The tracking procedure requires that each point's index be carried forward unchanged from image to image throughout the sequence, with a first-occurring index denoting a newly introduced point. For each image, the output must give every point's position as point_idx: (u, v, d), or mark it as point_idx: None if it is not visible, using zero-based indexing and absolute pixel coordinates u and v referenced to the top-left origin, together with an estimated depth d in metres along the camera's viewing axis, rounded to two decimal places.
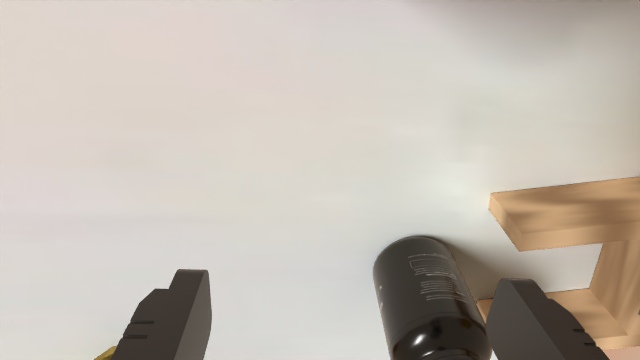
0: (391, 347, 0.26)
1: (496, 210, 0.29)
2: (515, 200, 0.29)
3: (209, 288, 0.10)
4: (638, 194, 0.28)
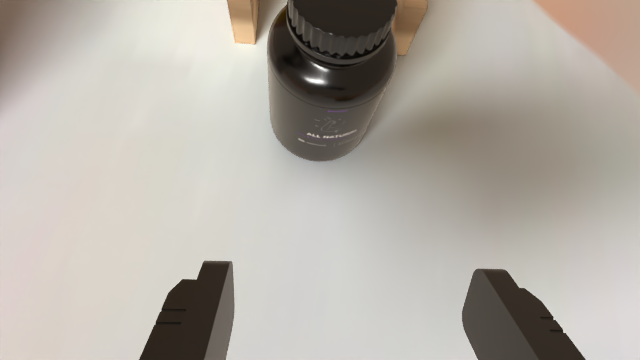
0: (315, 102, 0.19)
1: (243, 32, 0.28)
2: None
3: None
4: None
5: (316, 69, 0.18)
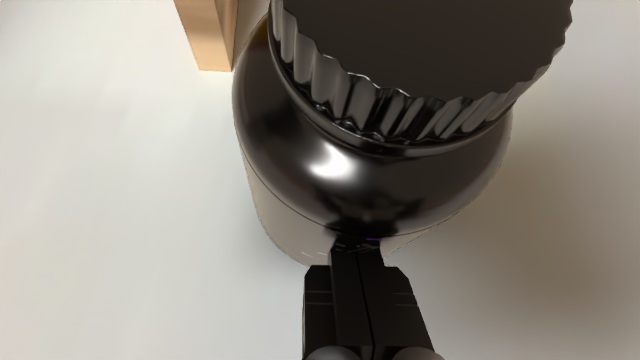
0: (340, 228, 0.08)
1: (210, 55, 0.18)
2: None
3: None
4: None
5: (344, 161, 0.08)
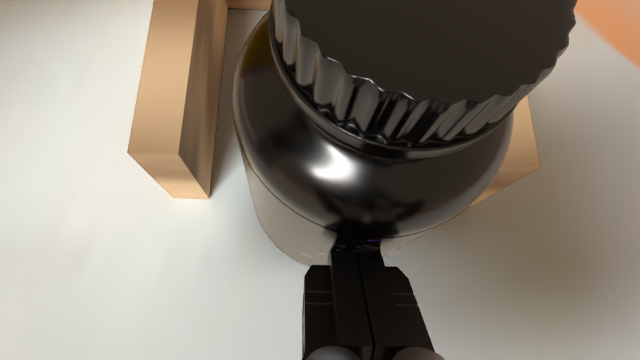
0: (341, 229, 0.08)
1: (184, 189, 0.16)
2: None
3: None
4: None
5: (346, 163, 0.08)
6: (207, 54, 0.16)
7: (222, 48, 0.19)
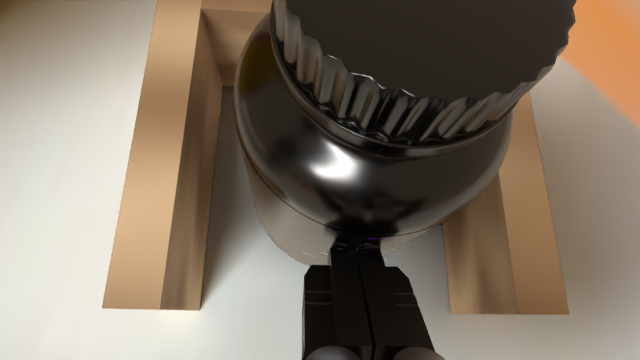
0: (342, 227, 0.08)
1: None
2: None
3: None
4: None
5: (347, 161, 0.08)
6: (197, 160, 0.14)
7: (216, 135, 0.17)
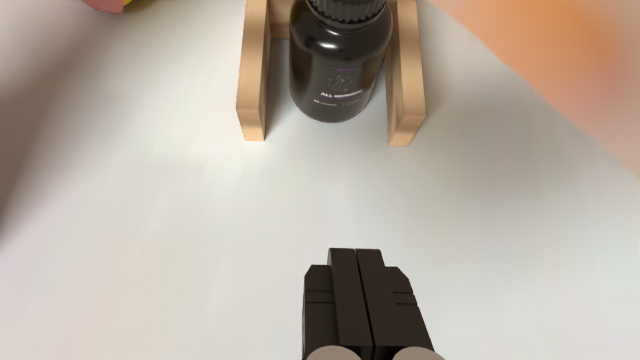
0: (328, 62, 0.25)
1: (253, 133, 0.30)
2: None
3: None
4: None
5: (328, 34, 0.24)
6: (265, 64, 0.30)
7: (269, 61, 0.34)
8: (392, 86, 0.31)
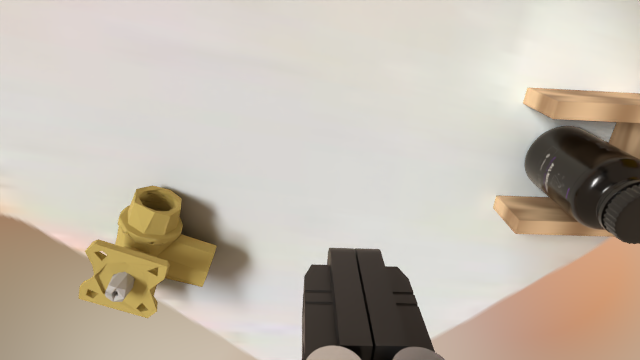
0: (577, 184, 0.32)
1: (531, 98, 0.36)
2: (548, 91, 0.36)
3: None
4: None
5: (600, 190, 0.31)
6: None
7: None
8: (544, 207, 0.40)
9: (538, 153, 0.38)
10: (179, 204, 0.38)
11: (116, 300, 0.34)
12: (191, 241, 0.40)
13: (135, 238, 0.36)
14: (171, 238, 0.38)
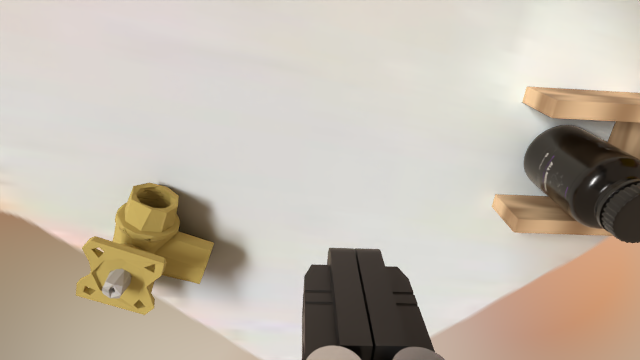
0: (576, 183, 0.33)
1: (531, 97, 0.36)
2: (547, 90, 0.36)
3: None
4: (639, 97, 0.36)
5: (598, 189, 0.31)
6: None
7: None
8: (543, 206, 0.40)
9: (537, 152, 0.38)
10: (176, 201, 0.38)
11: (113, 297, 0.34)
12: (188, 239, 0.40)
13: (132, 235, 0.36)
14: (168, 235, 0.38)
